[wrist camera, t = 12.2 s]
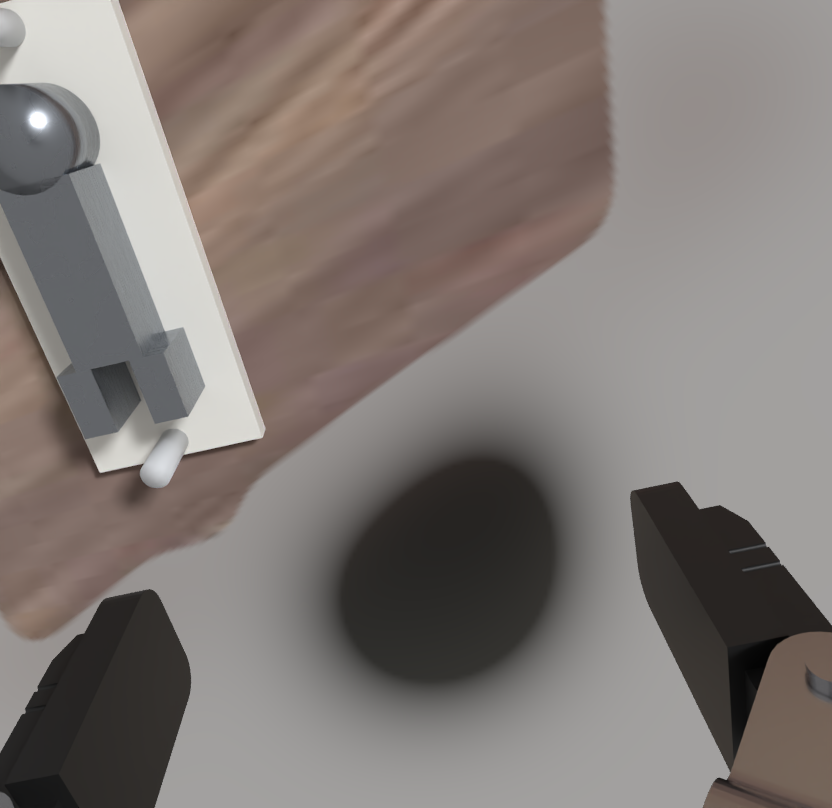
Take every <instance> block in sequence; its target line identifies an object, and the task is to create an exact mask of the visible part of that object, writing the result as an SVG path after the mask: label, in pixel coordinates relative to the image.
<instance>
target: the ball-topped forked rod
mask: <svg viewBox="0 0 832 808" xmlns="http://www.w3.org/2000/svg"><path fill="white" fill-rule="evenodd" d="M99 150H100V135H99V129H98V126H97V123H96V121H95V119H94V116H93V115H92V113H91V111H90V110H89V108H88V107H87V106H86V105H85V103H84V102H83V101H82V100H81V99H80V98H79V97H77V96H76V95H75V94H73V93H72V92H71V91H69V90H67V89H65V88H63V87H61V86H58V85H55V84H51V83H21V84H0V204H1V207H2V209H3V211H4V213H5V215H6V218H7V220H8V222H9V224H10V227H11V229H12V231H13V233H14V235H15V238H16V240H17V242H18V244H19V247H20V249H21V251H22V253H23V255H24V258H25V260H26V262H27V264H28V267H29V269H30V271H31V273H32V275H33V278H34V280H35V282H36V284H37V287H38V289H39V291H40V293H41V295H42V298H43V300H44V302H45V304H46V307H47V309H48V311H49V313H50V315H51V318H52V320H53V322H54V324H55V327H56V329H57V331H58V333H59V335H60V338H61V340H62V342H63V344H64V347H65V349H66V351H67V353H68V355H69V358H70V360H71V362H72V363H71V364H70V365H69V366H68V367H67V368H65V369H64V370H63V371H62V372H61V373H60V374H59V375H58V376H57V377H56V378H57V380H58V382H59V384H60V386H61V388H62V390H63V393H64V395H65V397H66V399H67V401H68V403H69V406H70V408H71V410H72V412H73V414H74V416H75V418H76V421H77V423H78V425H79V427H80V429H81V431H82V434H83V436H84V438H85V439H89V438H94V437H98V436H103V435H107V434H112V433H116V432H119V430H120V429H121V427H122V426H123V425H124V423H125V422H126V421H127V419H128V418H129V417H130V415H131V414H132V412H133V411H134V410H135V408H136V407H137V406H138V404H139V403H140V402H141V399H140V396H139V394H138V391H137V389H136V387H135V384H134V382H133V379H132V377H131V375H130V372H129V370H128V367H127V365H126V363H125V361H129V363H130V365H131V367H132V370H133V372H134V375H135V377H136V379H137V382H138V384H139V387H140V389H141V392H142V394H143V396H144V399H145V401H146V404H147V406H148V408H149V411H150V413H151V416H152V418H153V421H154V423H155V424H157V423H162V422H166V421H171V420H175V419H180V418H184V417H188V416H189V414H190V413H191V411H192V409H193V407H194V406H195V404H196V402H197V400H198V398H199V397H200V395H201V393H202V391H203V390H204V388H205V384H204V381H203V378H202V376H201V373H200V370H199V368H198V365H197V362H196V360H195V357H194V354H193V352H192V349H191V346H190V344H189V341H188V338H187V336H186V333H185V330H184V327H182V328H177V329H173V330H169V331H165V330H164V328H163V325H162V322H161V320H160V317H159V315H158V312H157V309H156V307H155V304H154V302H153V299H152V296H151V294H150V291H149V289H148V286H147V283H146V281H145V278H144V276H143V273H142V270H141V268H140V265H139V263H138V260H137V257H136V255H135V252H134V250H133V247H132V245H131V242H130V239H129V237H128V234H127V232H126V229H125V226H124V224H123V221H122V219H121V216H120V213H119V211H118V208H117V206H116V203H115V200H114V198H113V195H112V193H111V190H110V187H109V185H108V182H107V180H106V177H105V174H104V172H103V169H102V167H101V164H96V165H94V164H95V162H96V160H97V158H98V155H99Z"/></svg>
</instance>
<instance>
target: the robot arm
mask: <svg viewBox="0 0 832 808" xmlns="http://www.w3.org/2000/svg"><path fill="white" fill-rule="evenodd" d="M630 500H631V510H632V519H633V527H634V537H635V545H636V554H637V563H638V570H639V575H640V580H641V584H642V587H643V591H644V594H645V597H646V600H647V602H648V604H649V607H650V609H651V611H652V613H653V615H654V617H655V619H656V621H657V623H658V625H659V627H660V629H661V631H662V633H663V635H664V637H665V640H666V642H667V644H668V646H669V648H670V650H671V652H672V654H673V656H674V658H675V660H676V662H677V664H678V666H679V668H680V670H681V672H682V674H683V676H684V678H685V680H686V682H687V684H688V687H689V688H690V690H691V692H692V695H693V697H694V699H695V701H696V703H697V705H698V707H699V709H700V711H701V713H702V715H703V717H704V719H705V721H706V723H707V725H708V727H709V729H710V731H711V733H712V735H713V737H714V739H715V742H716V744H717V745H718V748H719V750H720V752H721V754H722V756H723V758H724V760H725V762H726V764H727V766H728V768H729V770H730V775H729V777H728V779H727V780H724V779H722V778H717V779H716V780H715V781H714V782H713V784H712V786H711V788H710V790H709V792H708V795H707V797H706V800H705V802H704V805H703V808H832V625H831V624H830V623H829V622H828V620H827V619H826V618H825V617H824V615H823V614H822V613H821V612H820V610H819V609H818V608H817V607H816V605H815V604H814V603H813V602H812V600H811V599H810V598H809V597H808V595H807V594H806V593H805V592H804V590H803V589H802V588H801V587H800V585H799V584H798V583H797V582H796V581H795V579H794V578H793V577H792V575H791V574H790V573H789V572H788V570H787V569H786V568H785V567H784V566H783V565H782V566H781V564H780V560H779V559H778V558H777V557H776V556H775V554H774V553H773V552H772V550H771V549H770V548H769V547H766V544H765V542H764V540H763V539H762V538H761V537H760V535H759V534H758V533H757V532H756V530H755V529H754V528H753V527H752V525H751V524H750V523H749V522H748V521H747V520H745V519H743V518H742V517H740V516H738V515H736V514H735V513H733V512H731V511H729V510H727V509H726V508H724V507H722V506H720V505H719V506H714V507H709V508H704V509H698V507H697V506H696V504H695V503H694V501H693V500H692V499H691V497H690V496H689V494H688V493H687V492H686V490H685V489H684V488H683V486H682V485H681V484H680V483H679V482H673V483H668V484H663V485H658V486H653V487H649V488H644V489H639V490H634V491H632V492H631V496H630ZM190 688H191V673H190V667H189V662H188V659H187V656H186V654H185V652H184V649H183V647H182V645H181V643H180V641H179V638H178V636H177V634H176V632H175V630H174V628H173V625H172V623H171V621H170V619H169V617H168V615H167V613H166V610H165V608H164V606H163V604H162V602H161V600H160V598H159V596H158V595H157V593H156V592H155V591H153V590H150V589H149V590H143V591H139V592H134V593H130V594H124V595H119V596H115V597H110V598H106V599H104V600H103V601H102V602H101V604H100V605H99V607H98V609H97V611H96V613H95V615H94V617H93V618H92V620H91V622H90V624H89V626H88V628H87V630H86V632H85V633H84V634H80V635H77V636H76V637H75V638H74V639H73V640H72V641H71V642H70V643H69V644H68V645H67V646H66V647H65V648H64V649H63V650H62V651H61V652H60V653H59V654H58V655H57V656H56V657H55V658H54V659H53V660H52V662H51V664H50V665H49V667H48V669H47V671H46V673H45V674H44V676H43V678H42V680H41V681H40V683H39V685H38V692H34V694H33V696H32V698H31V699H30V701H29V703H28V705H27V707H26V708H25V710H26V713H25V714H22V715H21V717H20V719H19V721H18V722H17V724H16V726H15V728H14V729H13V731H12V733H11V735H10V737H9V738H8V740H7V742H6V744H5V746H4V747H3V749H2V751H1V753H0V808H154V807H155V804H156V801H157V798H158V795H159V791H160V788H161V785H162V782H163V778H164V775H165V772H166V769H167V766H168V762H169V759H170V756H171V753H172V750H173V746H174V743H175V740H176V737H177V734H178V730H179V727H180V724H181V721H182V717H183V714H184V711H185V708H186V705H187V702H188V698H189V695H190Z"/></svg>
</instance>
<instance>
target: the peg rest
mask: <svg viewBox="0 0 832 808" xmlns="http://www.w3.org/2000/svg"><path fill="white" fill-rule="evenodd" d="M21 83H51V84H55V85H58V86H61V87H63V88H65V89H67V90H69V91H71V92H72V93H73V94H75V95H76V96H77V97H79V98H80V99H81V100H82V101H83V102H84V103H85V105H86V106H87V107H88V108H89V110H90V111H91V113H92V115H93V116H94V119H95V121H96V123H97V126H98V129H99V135H100V150H99V155H98V158H97V160H96V162H95V164H94V165H96V164H101V167H102V169H103V172H104V174H105V177H106V180H107V182H108V185H109V187H110V190H111V193H112V195H113V198H114V200H115V203H116V206H117V208H118V211H119V213H120V216H121V219H122V221H123V224H124V226H125V229H126V232H127V234H128V237H129V239H130V242H131V245H132V247H133V250H134V252H135V255H136V257H137V260H138V263H139V265H140V268H141V270H142V273H143V276H144V278H145V281H146V283H147V286H148V289H149V291H150V294H151V296H152V299H153V302H154V304H155V307H156V309H157V312H158V315H159V317H160V320H161V322H162V325H163V328H164V330H165V331H169V330H173V329H177V328H182V327H184V330H185V333H186V336H187V338H188V341H189V344H190V346H191V349H192V352H193V354H194V357H195V360H196V362H197V365H198V368H199V370H200V373H201V376H202V378H203V381H204V384H205V388H204V390H203V391H202V393H201V395H200V397H199V398H198V400H197V402H196V404H195V406H194V407H193V409H192V411H191V413H190V414H189V416H188V417H184V418H180V419H175V420H171V421H166V422H162V423H157V424H155V423H154V421H153V418H152V416H151V413H150V411H149V408H148V406H147V404H146V401H145V399H144V396H143V394H142V392H141V389H140V387H139V384H138V382H137V379H136V377H135V375H134V372H133V370H132V367H131V365H130V363H129V361H125V363H126V365H127V367H128V370H129V372H130V375H131V377H132V379H133V382H134V384H135V387H136V389H137V391H138V394H139V396H140V399H141V402H140V403H139V404H138V406H137V407H136V408H135V410H134V411H133V412H132V414H131V415H130V417H129V418H128V419H127V421H126V422H125V423H124V425H123V426H122V427H121V429H120V430H119V432H116V433H112V434H107V435H103V436H98V437H94V438H89V439H85V438H84V440H85V442H86V444H87V446H88V448H89V450H90V453H91V455H92V457H93V459H94V461H95V463H96V466H97V468H98V470H99V472H100V473H102V472H107V471H111V470H116V469H120V468H125V467H130V466H134V465H139V464H143V463H144V465H143V466H142V468H141V470H140V477H141V479H142V481H143V482H144V483H145V484H146V485H148V486H150V487H153V488H161V487H164V486H166V485H167V484H168V483H169V481H170V479H171V477H172V475H173V474H174V472H175V470H176V468H177V466H178V464H179V462H180V460H181V458H182V456H183V455H185V454H190V453H194V452H199V451H203V450H208V449H213V448H217V447H222V446H227V445H231V444H236V443H240V442H245V441H250V440H254V439H259V438H263V435H264V432H265V426H264V423H263V420H262V417H261V414H260V411H259V408H258V405H257V402H256V400H255V397H254V394H253V391H252V388H251V385H250V382H249V379H248V376H247V373H246V370H245V368H244V365H243V362H242V359H241V356H240V353H239V350H238V347H237V344H236V341H235V338H234V336H233V333H232V330H231V327H230V324H229V321H228V318H227V315H226V312H225V309H224V306H223V303H222V301H221V298H220V295H219V292H218V289H217V286H216V283H215V280H214V277H213V274H212V271H211V269H210V266H209V263H208V260H207V257H206V254H205V251H204V248H203V245H202V242H201V239H200V237H199V234H198V231H197V228H196V225H195V222H194V219H193V216H192V213H191V210H190V207H189V205H188V202H187V199H186V196H185V193H184V190H183V187H182V184H181V181H180V178H179V175H178V172H177V170H176V167H175V164H174V161H173V158H172V155H171V152H170V149H169V146H168V143H167V140H166V138H165V135H164V132H163V129H162V126H161V123H160V120H159V117H158V114H157V111H156V108H155V106H154V103H153V100H152V97H151V94H150V91H149V88H148V85H147V82H146V79H145V76H144V73H143V71H142V68H141V65H140V62H139V59H138V56H137V53H136V50H135V47H134V44H133V41H132V39H131V36H130V33H129V30H128V27H127V24H126V21H125V18H124V15H123V12H122V9H121V7H120V4H119V1H118V0H12V1H8V2H4V3H0V84H21ZM0 258H1V260H2V262H3V265H4V267H5V269H6V271H7V273H8V275H9V278H10V280H11V282H12V284H13V286H14V288H15V290H16V293H17V295H18V297H19V299H20V301H21V303H22V306H23V308H24V310H25V312H26V314H27V316H28V319H29V321H30V323H31V325H32V327H33V329H34V332H35V334H36V336H37V338H38V340H39V342H40V345H41V347H42V349H43V351H44V353H45V355H46V357H47V360H48V362H49V364H50V366H51V368H52V370H53V373H54V375H55V377H57V376H58V375H59V374H60V373H61V372H62V371H63V370H64V369H65V368H67V367H68V366H69V365H70V364H71V363H72V362H71V360H70V358H69V355H68V353H67V351H66V349H65V347H64V344H63V342H62V340H61V338H60V335H59V333H58V331H57V329H56V327H55V324H54V322H53V320H52V318H51V315H50V313H49V311H48V309H47V307H46V304H45V302H44V300H43V298H42V295H41V293H40V291H39V289H38V287H37V284H36V282H35V280H34V278H33V275H32V273H31V271H30V269H29V267H28V264H27V262H26V260H25V258H24V255H23V253H22V251H21V249H20V247H19V244H18V242H17V240H16V238H15V235H14V233H13V231H12V229H11V227H10V224H9V222H8V220H7V218H6V215H5V213H4V211H3V209H2V207H1V204H0ZM56 379H57V378H56ZM57 381H58V380H57ZM58 383H59V382H58ZM59 386H60V384H59ZM60 388H61V386H60ZM61 390H62V388H61ZM62 392H63V390H62ZM63 394H64V393H63ZM64 396H65V395H64ZM65 399H66V397H65ZM66 401H67V399H66ZM67 403H68V401H67ZM68 405H69V403H68ZM69 407H70V406H69ZM70 409H71V408H70ZM71 412H72V410H71ZM72 414H73V412H72ZM73 416H74V414H73ZM74 418H75V416H74ZM75 420H76V418H75ZM76 422H77V421H76ZM77 424H78V423H77ZM78 427H79V425H78ZM79 429H80V427H79ZM80 431H81V429H80ZM81 433H82V431H81ZM82 435H83V434H82ZM83 437H84V436H83Z"/></svg>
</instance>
